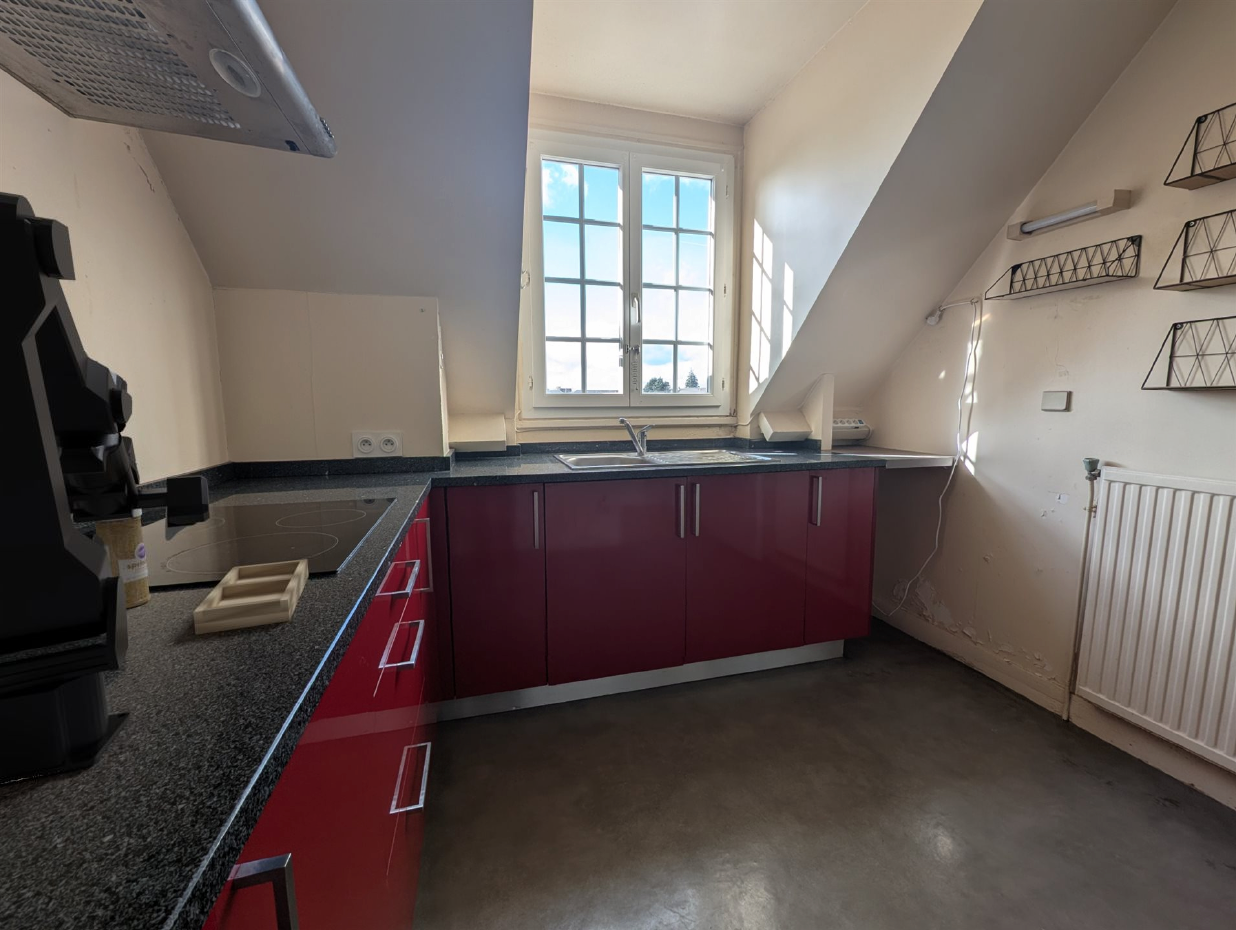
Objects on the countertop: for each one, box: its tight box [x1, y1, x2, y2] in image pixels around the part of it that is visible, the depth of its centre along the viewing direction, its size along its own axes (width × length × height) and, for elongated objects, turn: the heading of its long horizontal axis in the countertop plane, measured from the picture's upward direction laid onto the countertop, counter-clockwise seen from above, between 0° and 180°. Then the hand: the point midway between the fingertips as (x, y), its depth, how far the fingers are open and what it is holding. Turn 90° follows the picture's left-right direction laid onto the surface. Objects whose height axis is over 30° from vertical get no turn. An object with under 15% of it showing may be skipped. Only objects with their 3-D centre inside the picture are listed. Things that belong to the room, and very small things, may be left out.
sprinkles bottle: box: [93, 509, 152, 609], centre depth 66 cm, size 5×5×13 cm
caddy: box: [192, 558, 309, 635], centre depth 68 cm, size 17×9×3 cm, turn 25°
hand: (121, 543), depth 66 cm, fingers open, 9 cm apart
